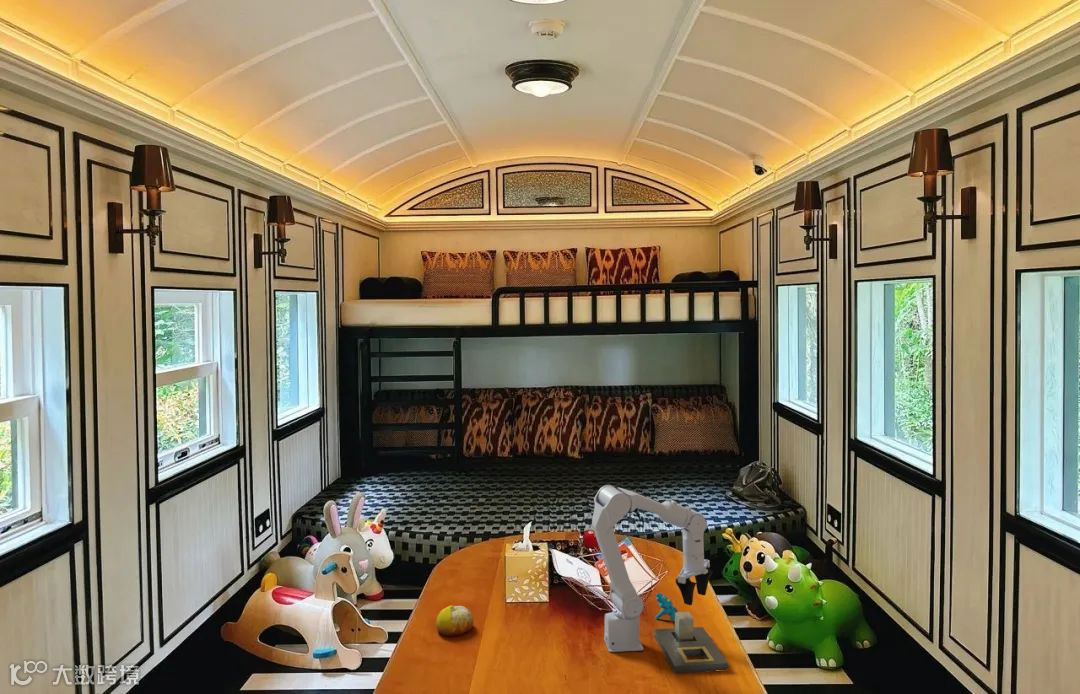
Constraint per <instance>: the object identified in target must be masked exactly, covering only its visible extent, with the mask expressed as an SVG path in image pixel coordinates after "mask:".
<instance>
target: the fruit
mask: <svg viewBox="0 0 1080 694" xmlns="http://www.w3.org/2000/svg"><path fill="white" fill-rule="evenodd" d="M435 625H436V629H437V632H438V633H439V635H442V636H445V637H454V636H461V635H463V634H465V633H467V632H468V633H469V632H470V631H471V630H472V628H473V626H474V617H473V613H472V612H471V610H470V609H469V608H466V607H465V606H462V605H457V606H455V605H452V604H451V605H448V606H447V607H445V608H443V609H442V610H440V611H439V613H438V616H437V618H436V623H435Z"/></svg>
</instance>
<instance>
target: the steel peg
mask: <svg viewBox="0 0 1080 694" xmlns="http://www.w3.org/2000/svg"><path fill="white" fill-rule="evenodd" d="M694 619H695V618H694V617H693V616H692V614H691V613H690V611H686V612H685V611H684V612H683V611H682V612H681V611H679V612H678V611H677V613H675V621H674V628H675V639H676V641H677V642H686V641H693V627H694V622H695V621H694Z"/></svg>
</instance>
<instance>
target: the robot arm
mask: <svg viewBox="0 0 1080 694" xmlns="http://www.w3.org/2000/svg"><path fill="white" fill-rule="evenodd" d="M593 501H594V507H593V515H592V520H591V527H592V530H593V533H594V535H595V538H596V542H597V544H598V548H599V550H600V553H601V556H602V560H603V562H604V565H605V568H606V571H607V574H608V578H609V580H610V582H609V589H610V590H609V591H610V592H609V599H610V602H611V603H612V604H613V608H612V611H611V612H608V613H604V637H603V640H604V642H605V645H606V647H607V650H608V652H609V653H617V652H619V653H621V652H635V651H637V652H638V651H639V652H640V651H644V647H643V644H642V643H641V640H640V615H641V614H642V613H643V610H644V607H645V606H644V601H643V599H642V597H640V596H639V594H637V593H638V592H637V591H636V588H635V587H634V585H633V583H632V582H631V579H630V576H629V574H628V570H627V568H626V565H625V562H624V558H623V556H622V552H621V549H620V547H619V543H618V540H617V537H616V534H615V532H614V527H615V525H617V523H618V522H619V521H621V520H622V519H623V518H624V517H625V516H626V515H627V514H628V512H634V511H635V510H636V509H640V510H642V511H646V512H649V513H652V514H656V515H658V518H659V520H660V522H661V521H662V522H663V523H666V524H670V525H672V526H675V527H677V528H681V529H682V531H681V532H682V554H683V555H682V556H683V557H682V559H683V560H682V561H683V566H682V569H681V570H680V572H679V574H677V578H675V584H676V586H677V587H678V588H679V591H680V594H681V596H682V600H683V603H684V605H688V606H692V605H693V602H694V591H695V587H696V592H697V594H698V595H701V596H706V594H707V590H708V585H709V582H710V580H711V579H710V578H711V577H712V576H713V575H712V574H713V569H711V568H710V566H711V564H710V562H711V561H710V560H709V559H705V551H704V548H705V547H704V544H705V543H704V532H705V531H706V530H707V526H708V522H707V521H706V518H705V516H704V515H703V514H701V513H700V512H698V511H697V510H694V509H693V508H692V507H690V506H688V505H686V506H682V505H681V504H678V502H677V501H675V500H672V499H671V500H670V501H669V500H665V501H663V502H659V501H656V500H654V499H651V498H650V497H647V496H645V495H642V494H640V493H637V492H636V491H631V490H628V489H625V488H622V487H619V486H618V487H615V486H613V485H611V484H607V485H606V484H605V485H603V486H602V487H600V488H599V490H598V491H597V493H596V494H595V496H594V497H593ZM692 577H694V580H695V581H692V579H691V578H692Z"/></svg>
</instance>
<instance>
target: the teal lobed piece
mask: <svg viewBox="0 0 1080 694" xmlns="http://www.w3.org/2000/svg"><path fill="white" fill-rule="evenodd" d="M655 597H656V599H655V600H656V601H657V602H658V603H659V604H658V605H659V607H660V608H661V609H660V610H659V613H658V614H657V615H655V619H656V620H657V619H658V620H659V619H660V618H661V617H662V616H664V614H665V616H667V615H669V619H670V620H671V621H674V622H675V613H678V609H677V607H675V606H674V605H673V604H674V603H673V601H672V600H671V598H669V599H668V597H667V596H666V595H664V594H662V593H661V592H658V593H657V594H655Z"/></svg>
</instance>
